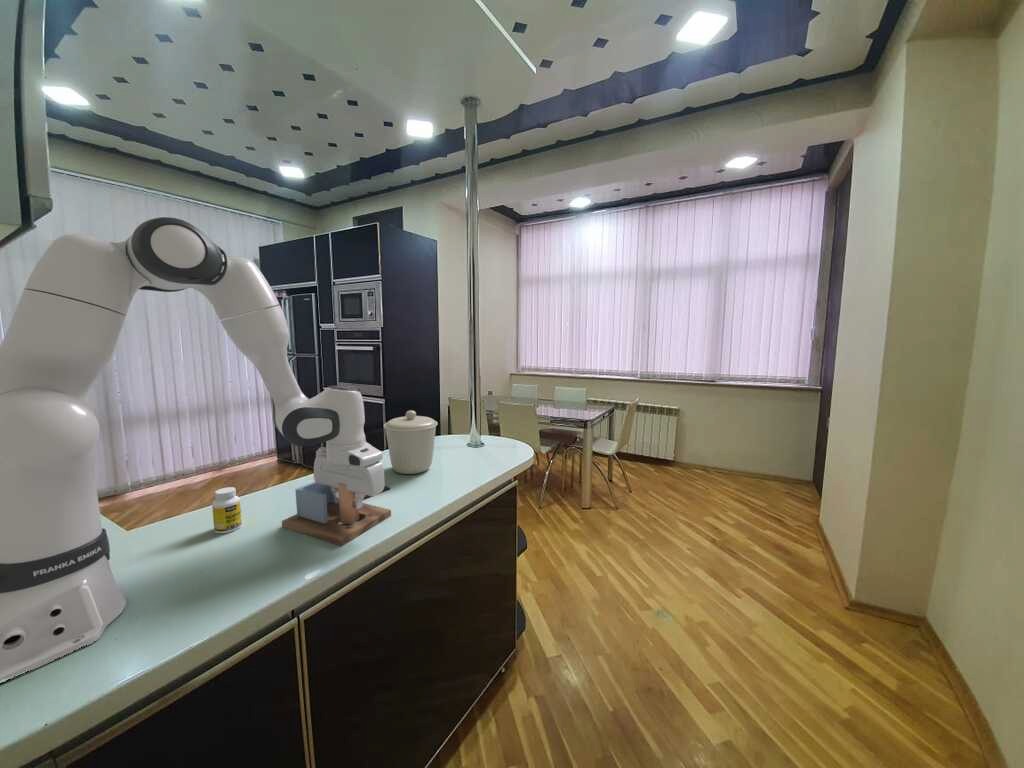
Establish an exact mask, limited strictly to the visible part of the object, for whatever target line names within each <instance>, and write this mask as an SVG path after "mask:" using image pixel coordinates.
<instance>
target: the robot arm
mask: <svg viewBox="0 0 1024 768" xmlns="http://www.w3.org/2000/svg"><path fill="white" fill-rule="evenodd" d="M222 255H223V256H222ZM186 289H193V290H194V291H195V290H196V291H197V292H199V293H200V294H201V295H203V296H204V297H205V298H206V300H208V302H209V303H210V304H211V305H212V307H213V309H214V311H215V313H216V316H217V318H218V320H219V322H220V324H221V326H222V327H223V329H224V331H225V333H226V334H227V336H228V337H229V338H230V340H231V342H232V343H233V344H234V346H235V347H236V348H237V349H238V350H239V352H241V354H243V355H244V356H245V357H246V358H247V359H248V360H249V361H250V362H251V363H252V364H253V366H254V367H255V368H256V370H257V371H258V373H259V374H260V377H261V378H262V381H263V383H264V385H265V387H266V389H267V391H268V393H269V396H270V398H271V400H272V403H273V405H272V406H273V409H272V410H273V411H272V413H273V414H272V416H273V418H272V419H273V424H274V426H275V428H276V429H277V431H279V432H280V434H281V435H282V436H283V438H284V439H285V440H286V441H287V442H288V443H289V444H290V445H292V446H295V447H298V448H307V447H312V446H316V445H319V444H323V443H325V446H326V447H325V446H321V447H319V448H318V449H317V450H316V451H315V458H314V463H313V480H314V482H316V483H318V484H322V485H326V486H331V491H332V493H333V495H334V497H335V503H337V504H339V497H338V483H343V484H346V489H347V490H348V491H351V492H355V496H357V498H356V500H355V501H353V508H356V509H359V508H361V507H362V506H363V503H364V500H363V499H364V497H365V495H368V496H373V497H375V496H377V494H378V495H380V494H382V493H381V492H382V491H383V489H384V486H386V485H385V471H384V465H383V464H382V462H381V460H383V455H384V454H383V452H382V450H379V449H377V448H376V447H374V446H373V445H372V444H370V443H369V442H367V440H366V434H365V431H364V426H365V423H366V422H365V421H366V420H365V419H366V417H365V405H364V400H363V399H364V397H363V396H362V393H361V392H360V391H359V390H357V389H356V388H353V387H351V386H347V385H346V386H345V385H329V386H327V387H326V388H325V389H323V391H321V392H320V393H318V394H317V395H315V396H313V397H311V398H309V397H308V396H306V395H305V394H304V392H303V391H302V390H301V388H300V385H299V384H298V382H297V379H296V377H295V375H294V372H293V370H292V368H291V365H290V363H289V360H288V359H289V358H288V353H287V352H288V345H289V341H290V331H289V327H288V323H287V319H286V317H285V314H284V311H283V309H282V306H281V305H280V303H279V302H280V301H279V300H278V298H277V296H276V294H275V293H274V290H273V288H272V287H271V285H270V284H269V281H268V280H267V279H266V277H265V276H264V274H263V273H262V271H261V270H260V268H259V267H258V265H257V264H256V263H254V261H252V260H250V259H248V258H246V257H242V256H236V255H229V256H228V255H227V254H226V252H225V250H223V249H222V248H221V247H220V246H218V245H217V244H216V243H215V242H214V241H212V240H211V238H209V237H208V236H207V234H205V233H204V232H203V231H202V230H200V229H199V228H198V227H197V226H195V225H193V224H191V223H190V222H188V221H186V220H183V219H180V218H176V217H170V216H169V217H168V216H166V217H165V216H161V217H154V218H151V219H147V220H145V221H144V222H142V223H140V224H139V225H138V226H137V227H136V228H135V229H134V231H133V232H132V234H131V235H130V236H129V237H128V238H127V239H125V240H124V241H123V240H122V241H120V242H114V241H107V240H105V239H102V238H99V237H96V236H92V235H86V234H85V235H84V234H75V233H74V234H65V235H62V236H59V237H57V238H56V239H55V240H53V241H52V242H51V244H50V245H49V246H48V247H47V249H46V250H44V253H43V254H42V255H41V256H40V258H39V260H38V261H37V263H36V265H35V266H34V267H33V269H32V272H31V273H30V275H29V277H28V279H27V281H26V284H25V285H24V288H23V290H22V293H21V294H20V298H19V300H18V302H17V305H16V308H15V310H14V312H13V315H12V317H11V320H10V322H9V324H8V328H7V330H6V333H5V335H4V337H3V339H2V341H1V343H0V681H1V680H3V679H7V678H10V677H13V676H16V675H18V674H21V673H23V672H27V671H29V672H31V671H33V670H36V669H38V668H40V667H42V666H44V665H46V664H49V663H51V662H53V661H55V659H56V660H57V658H58V659H60V658H62V657H65V656H67V655H69V654H71V653H74V652H75V651H74V650H76V651H78V650H80V649H82V648H81V647H83V646H85V647H87V646H90V645H91V644H93V643H95V642H96V641H98V640H99V639H100V638H101V636H102V635H103V633H104V632H105V629H106V628H107V627H108V626H109V625H110V624H111V623H112V622H113V621H114V620H116V619H117V617H119V615H120V614H122V612H123V611H124V609H125V608H126V606H127V599H126V597H125V596H124V595H123V593H122V592H121V590H120V588H119V586H118V584H117V581H116V579H115V577H114V574H113V572H112V569H111V566H110V562H109V561H110V560H111V559H110V558H111V555H110V553H111V548H110V547H111V546H110V541H109V536H108V534H107V530H106V528H104V527H103V525H102V520H101V519H102V518H101V509H100V503H99V496H98V487H97V479H98V478H97V477H98V467H99V466H98V465H99V436H100V432H101V431H100V430H101V429H100V423H99V420H98V417H97V415H96V413H95V411H93V409H92V407H91V406H90V405H88V404H87V403H86V399H87V397H88V395H89V394H90V391H91V390H92V389H93V387H94V385H95V383H96V381H97V380H98V378H99V377H100V375H101V373H102V372H103V370H104V369H105V367H106V366H107V365H109V363H110V361H111V359H112V356H113V354H114V351H115V348H116V346H117V342H118V340H119V337H120V334H121V331H122V328H123V325H124V322H125V319H126V316H127V313H128V311H129V308H130V306H131V302H132V300H133V299H134V296H135V294H136V293H137V292H138V290H141V291H154V292H155V291H156V292H164V293H175V292H181V291H184V290H186ZM379 493H380V494H379ZM94 641H95V642H94ZM86 645H87V646H86ZM79 648H80V649H79ZM83 648H84V647H83ZM77 649H78V650H77ZM73 651H74V652H73ZM68 653H69V654H68ZM66 654H67V655H66ZM64 655H65V656H64ZM59 657H60V658H59ZM30 670H31V671H30ZM27 673H28V672H27Z"/></svg>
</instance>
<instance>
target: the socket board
mask: <svg viewBox="0 0 1024 768" xmlns="http://www.w3.org/2000/svg"><path fill="white" fill-rule="evenodd" d="M359 516H360V518H359V519H358V521H356V522H354V523H353V524H350V525H343V524H342V523H341V522H340V518H339V504H335V503H331V502H329V503H327V517H328V522H327V523H325V524H324V523H320V522H317V521H313V520H310V519H307V518H303V517H300V516H297V513H296V514H294V515H291V516H289V517H287V518H285V519H283V520H281V527H282V528H285V529H288V530H291V531H294V532H297V533H300V534H303V535H307V536H309V537H313V538H316V539H319V540H323V541H325V542H329V543H331V544H334V545H338V546H340V547H343V546H344V545H346V544H349V542H351V541H353V540H354V539H357V537H359V536H360V535H362V534H364V533H366V532H368V531H369V530H370V529H372V528H373V527H375V526H377V525H378V524H380V523H381V522H383V521H385V520H387V519H388V518H389V517H391V516H392V510H391V509H389V508H384V507H380V506H377V505H373V504H369V503H365V502H363V506H362V507H361V508H359ZM340 523H341V524H340Z"/></svg>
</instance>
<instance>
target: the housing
mask: <svg viewBox="0 0 1024 768" xmlns="http://www.w3.org/2000/svg"><path fill="white" fill-rule="evenodd" d="M295 500H296V501H295V503H296V504H295V505H296V514H297V516H300V517H303V518H307V519H310V520H313V521H317V522H320V523H324V524H325V523H327V522H328V517H327V503H329V502H331V503H335V497H334V495H333V493H332V491H331V486H326V485H322V484H318V483H316V482H315V481H312V482H310V483H307V484H304V485H302V486H299V487H297V488H295ZM335 504H337V503H335Z"/></svg>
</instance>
